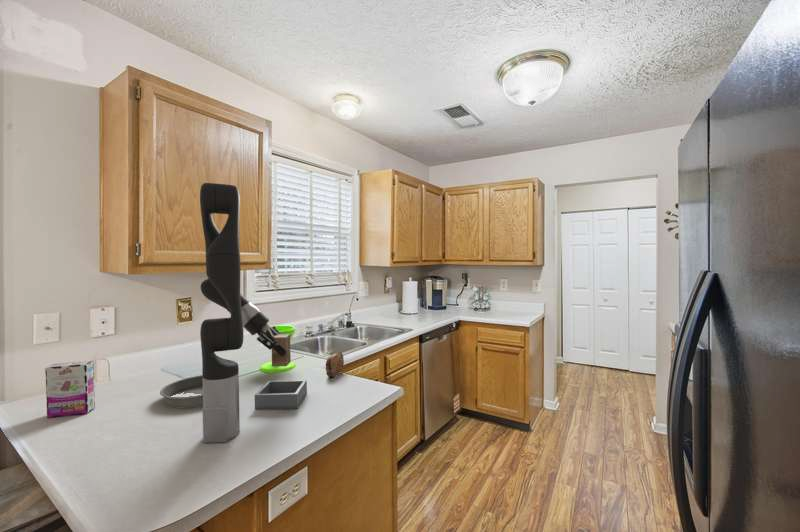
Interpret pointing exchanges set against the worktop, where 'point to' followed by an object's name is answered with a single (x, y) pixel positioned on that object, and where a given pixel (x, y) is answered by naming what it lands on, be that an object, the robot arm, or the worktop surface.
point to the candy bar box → (70, 389)
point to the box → (281, 395)
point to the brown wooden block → (285, 344)
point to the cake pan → (184, 386)
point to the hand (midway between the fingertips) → (286, 352)
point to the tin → (334, 364)
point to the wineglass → (268, 366)
